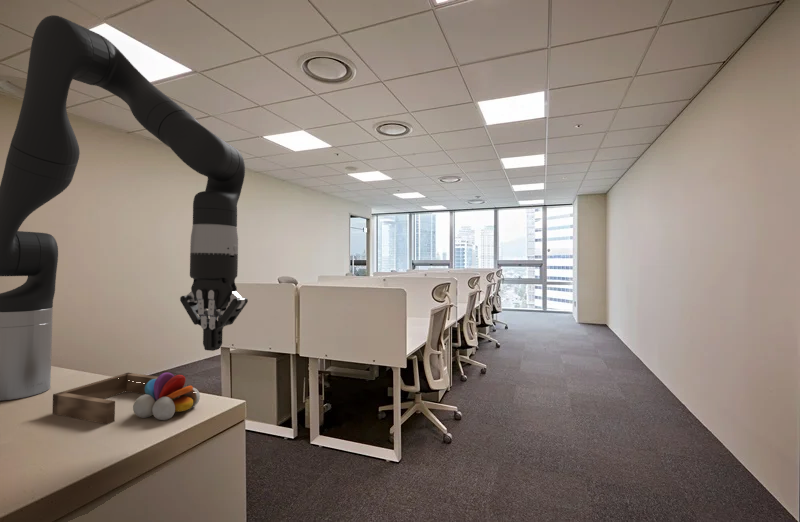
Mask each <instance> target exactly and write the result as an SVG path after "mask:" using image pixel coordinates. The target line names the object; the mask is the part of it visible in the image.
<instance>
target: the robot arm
mask: <svg viewBox="0 0 800 522" xmlns="http://www.w3.org/2000/svg"><path fill="white" fill-rule="evenodd" d="M28 60H29V61H28V68H27V73H26V81H25V83H26V84H25V87H24V88H25V89H24V94H23V99H22V102H21V108H20V111H19V115H18V118H17V119H18V120H17V123H16V126H15V130H14V133H13V136H12V139H11V142H10V145H9V148H8V151H7V156H6V160H5V164H4V170H3V174H2V177H1V182H0V277H27V279H26V281H25V282H24V283H22V284H21V285H20V286H18V287H16V288H15V287H14V288H13V289H10V290H7V291H5V292H0V401H10V400H16V399H22V398H28V397H32V396H35V395H38V394H41V393H44V392H47V391H48V390H50V389H51V379H52V376H51V375H52V374H51V373H52V350H53V349H52V348H53V347H52V343H53V312H54V311H53V309H54V308H53V307H54V297H55V295H56V294H55V293H56V283H57V282H56V280H57V270H58V262H59V246H58V243H57V240H56V238H55V236H53V235H52V234H50V233H48V232H37V231H36V232H34V231H22V230H19V229H20V227H21V226H22V225H23V223H24V221H26V219H27V218H28V217H29V216H30V215H31V214H32V213H34V212H35V211H36V210H38V209H39V208H41V207H42V206H44V205H45V204H46V203H48V202H50V201H52V200H53V199H54V198H56V197H57V196H59V195H60V194H61V193H63V192H64V191H65V190H67V188H68V187H69V186H70V185H71V183H72V181H73V179H74V175H75V172H76V169H77V167H78V166H77V165H78V164H79V163H78V162H79V160H80V155H81V153H80V145H79V141H78V139H77V136H76V134H75V131H74V129H73V127H72V124H71V121H70V119H69V115H68V112H67V111H68V110H67V100H68V96H69V95H68V94H69V91H70V86H71V83H72V82H73V80H74V81H77V82H80V83H83V84H86V85H90V86H96V87H99V88H101V89H104V90H105V91H106V92H107V91H108V92H109V93H111V94H113V95H114V96H116V97H117V98H120V99H121V100H122V101H123V102H125V103H126V105H127V106H128V107H129V109H130V112H131V114H132V115H133V117H134V118H135V120H136V121H137V122H138V123H139V124H140V125H141V126H142V127H143V128H144V129H145V130H146V131H148V132H149V133H150V134H152V136H154V137H155V138H157V139H158V140H160V142H162V143H163V144H164V145H165V146H167V147H169V148H170V149H171V151H172V152H174V154H175V155H176V156H177V157H178V158H179V159H180V160H181V161H182V162H183V163H184V164H185V165H186V166H188V167H189V168H190V169H192V170H193V171H195V172H197V174H200V175H201V176H205V177H207V181H206V186H205V190H203V191H200V192H198V193H196V194H195V195H194V198H193V202H192V228H191V232H190V233H191V234H190V241H189V242H190V248H189V249H190V250H189V252H190V253H189V277H190V278H191V279H193V282H192V285H191V287H190V289H191V291H190V292H188V294H186V295H181V296H180V298H179V300H180V303H181V304H182V306H183V308H184V310H185V311H186V313H187V315H188V316H189V318H190V320H191V322H192V323H193V325H197V326H198V325H199V326H200V327H201V329H202V330H203V331H202V333H203V334H202V346H203V348H204V350H205V351H210V352H215V351H217V350H219V349H220V348H221V347H222V344H223V329H224V327H226V326H227V327H228V326H230V325H233V323H234V322H235V321H236V319H238V317H239V315H240V313H242V311H243V309H244V308H245V307H246V305H247V304H248V298H247V297H244V296H243V297H242V296H241V295H240V294H239V293H238V292H237V291H238V288H237V285H236V282H235V281H236V279H237V277H238V267H239V266H238V261H239V255H238V254H239V237H238V202H239V200H240V196H241V192H242V189H243V184H244V181H245V176H246V165H245V164H246V163H245V160H244V157H243V155H242V153H241V152H240V150H238V148H236V147H234V146H233V145H231V144H230V143H228V142H226V141H225V140H224V139H222V138H221V137H220V136H217V135H216V134H215V133H213V132H212V131H210V130H209V129H207V128H206V127H205V126H203V125H202V124H201V123H200V122H199V120H197V119H196V118H195V116H193V115H192V114H191V113H190V112H188V111H187V110H186V109H185V108H183V107H182V106H181V105H179V104H178V103H177V102H175V101H174V100H173V99H171V98H170V96H167V95H166V93H164V92H162V91H161V90H160V89H159V88H157V87H156V86H155V85H153V83H151V82H150V81H149V80H148V79H147V78H146V77H145V76H144V75H143V74H142V72H140V71H139V70H138V69H137V68H136V67H135V66H134V65H133V64H132V62H131V61H130V60H129V59H128V58H127V57H126V56H125V55H124V54H123V53H122V51H120V50H119V48H118V47H116V46H115V44H114V43H112V42H111V41H110V40H109V39H107V38H106V37H105V36H103V35H101V34H100V33H97V32H95V31H93V30H90V29H88V28H87V27H85V26H82V25H80V24H78V23H76V22H74V21H71V20H69V19H67V18H65V17H62V16H59V15H52V14H51V15H48V16H45V17H44V18H42V19H41V20H40V22H39V23H38V24H37V26H36V28H35V30H34V33H33V36H32V41H31V46H30V51H29V59H28Z"/></svg>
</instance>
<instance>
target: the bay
mask: <svg viewBox="0 0 800 522" xmlns="http://www.w3.org/2000/svg"><path fill="white" fill-rule="evenodd" d="M158 377H159V376H156V375H150V374H149V375H148V374H141V373H140V374H139V373H133V372H126V373H122V374H119V375H115V376H113V377H109V378H104V379H101V380H98V381H95V382H90V383H87V384H84V385H81V386H77V387H74V388H70V389H67V390H63V391H60V392H57V393H53V394H52V413H51V414H52V415H56V416H61V417H67V418H73V419H77V420H83V421H88V422H93V423H94V422H95V423H99V424H100V423H101V424H104V425H109V424H111V423H113V422H115V420H116V418H115V417H116V416H115V415H116V401H115V400H113V399H111V400H110V399H107V398H111V397H114V396H117V395H119V393H120V394H122V392H123V393H126V392H127V391H128V393H134V394H135V393H136V394H141V395H145V394H146V393H145V385H146V384H147V383H148V382H149V381H150V380H152V379H157V378H158ZM118 378H119V379H118ZM128 380H130V381H128ZM132 381H134V382H132ZM136 382H141V383H136ZM143 383H145V384H143ZM125 391H126V392H125ZM116 394H117V395H116ZM113 395H114V396H113Z"/></svg>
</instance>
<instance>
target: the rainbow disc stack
mask: <svg viewBox="0 0 800 522" xmlns="http://www.w3.org/2000/svg"><path fill="white" fill-rule="evenodd" d="M157 377H158V378H157V379H152V380H150V381H149V382H148V383H147V384H146V385H145V393H146V394H141V395H140V396H139V397H138V398H136V400H135V401H134V402H133V406H132V411H133V413H134V414H135V416H137V417H138V418H143V419H146V418H149V417H152V416H154V418H155V419H157V420H160V421H167V420H169V419H171V418H172V417H174V414H175V413H176V412H185V411H188V410H190V409H193V408H194V407H196V406H197V404H198V403H199V401H200V399H201V398H200V397H201V395H200V391H199V390H198V389H197V388H196V387H193V385H187V386H185V384H186V382H187V381H186V377H185V376H184V375H183V374H175V375H174V374H173V373H171V372H163V373H161V374H160V375H159V376H157ZM193 392H197V393H193Z"/></svg>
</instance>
